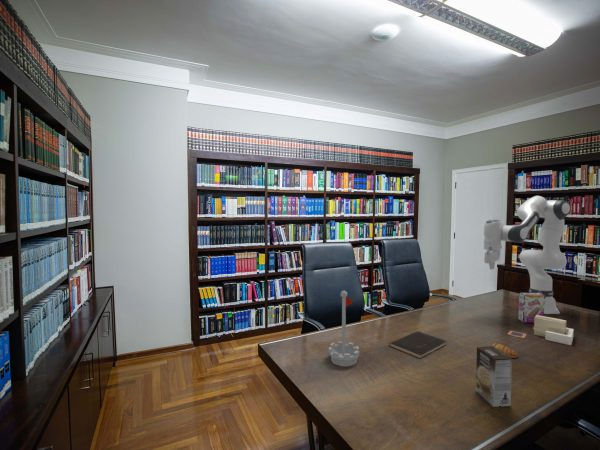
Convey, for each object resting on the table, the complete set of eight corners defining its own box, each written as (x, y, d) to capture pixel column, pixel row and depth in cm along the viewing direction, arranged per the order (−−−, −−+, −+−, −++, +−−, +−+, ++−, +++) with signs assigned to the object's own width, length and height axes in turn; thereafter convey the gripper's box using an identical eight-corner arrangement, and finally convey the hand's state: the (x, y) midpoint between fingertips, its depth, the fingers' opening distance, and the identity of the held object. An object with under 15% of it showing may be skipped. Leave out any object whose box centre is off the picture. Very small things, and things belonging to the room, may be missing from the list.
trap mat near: (510, 330, 160) (510, 330, 160) (526, 334, 155) (526, 334, 155) (507, 334, 155) (507, 334, 155) (524, 338, 150) (524, 337, 150)
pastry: (519, 355, 132) (519, 347, 132) (514, 360, 128) (514, 352, 128) (494, 348, 139) (494, 340, 139) (489, 353, 135) (490, 344, 135)
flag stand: (340, 370, 120) (340, 296, 119) (322, 357, 131) (322, 289, 130) (365, 363, 126) (366, 292, 125) (347, 350, 137) (347, 285, 136)
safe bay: (548, 331, 159) (549, 324, 159) (573, 336, 152) (573, 329, 152) (545, 339, 149) (545, 331, 149) (571, 345, 142) (571, 337, 142)
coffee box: (474, 390, 106) (475, 346, 105) (491, 390, 106) (492, 345, 106) (493, 407, 97) (494, 358, 96) (512, 406, 97) (513, 357, 97)
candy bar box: (523, 322, 172) (524, 294, 171) (518, 319, 177) (518, 292, 176) (544, 323, 171) (545, 295, 170) (538, 320, 176) (539, 292, 175)
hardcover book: (446, 345, 144) (446, 340, 143) (420, 359, 130) (420, 354, 130) (416, 335, 156) (416, 330, 156) (389, 346, 142) (389, 342, 142)
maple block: (535, 331, 159) (536, 314, 159) (565, 338, 151) (566, 320, 151) (533, 334, 155) (534, 317, 155) (564, 341, 147) (565, 323, 146)
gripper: (493, 248, 173) (493, 272, 173) (502, 245, 187) (501, 267, 188) (481, 247, 177) (481, 270, 178) (490, 244, 192) (490, 266, 192)
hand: (491, 269), depth 183 cm, fingers closed
